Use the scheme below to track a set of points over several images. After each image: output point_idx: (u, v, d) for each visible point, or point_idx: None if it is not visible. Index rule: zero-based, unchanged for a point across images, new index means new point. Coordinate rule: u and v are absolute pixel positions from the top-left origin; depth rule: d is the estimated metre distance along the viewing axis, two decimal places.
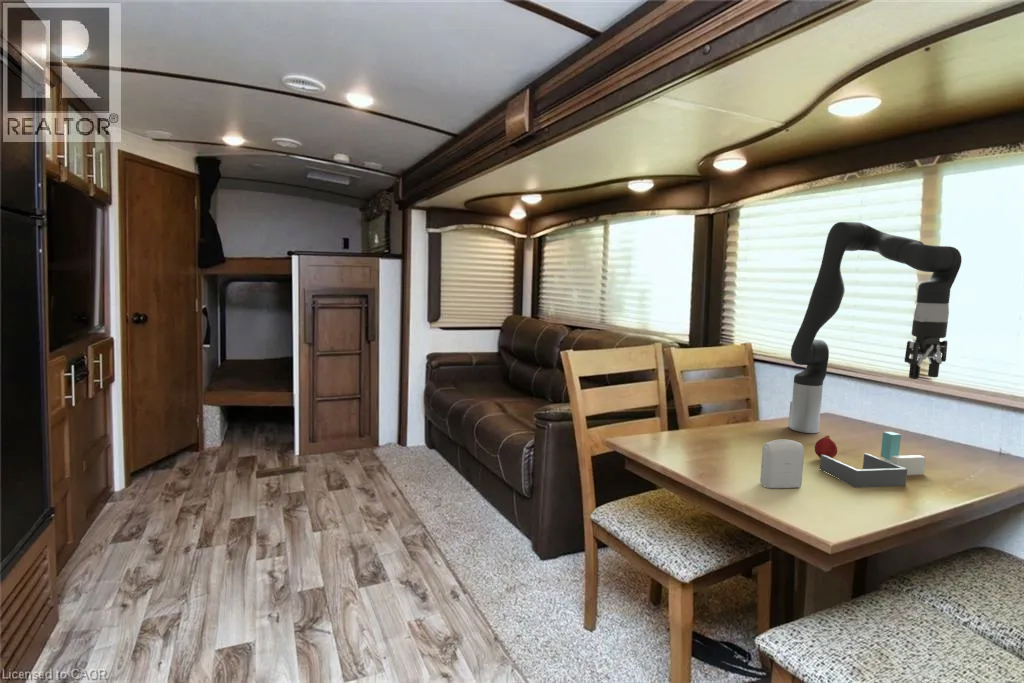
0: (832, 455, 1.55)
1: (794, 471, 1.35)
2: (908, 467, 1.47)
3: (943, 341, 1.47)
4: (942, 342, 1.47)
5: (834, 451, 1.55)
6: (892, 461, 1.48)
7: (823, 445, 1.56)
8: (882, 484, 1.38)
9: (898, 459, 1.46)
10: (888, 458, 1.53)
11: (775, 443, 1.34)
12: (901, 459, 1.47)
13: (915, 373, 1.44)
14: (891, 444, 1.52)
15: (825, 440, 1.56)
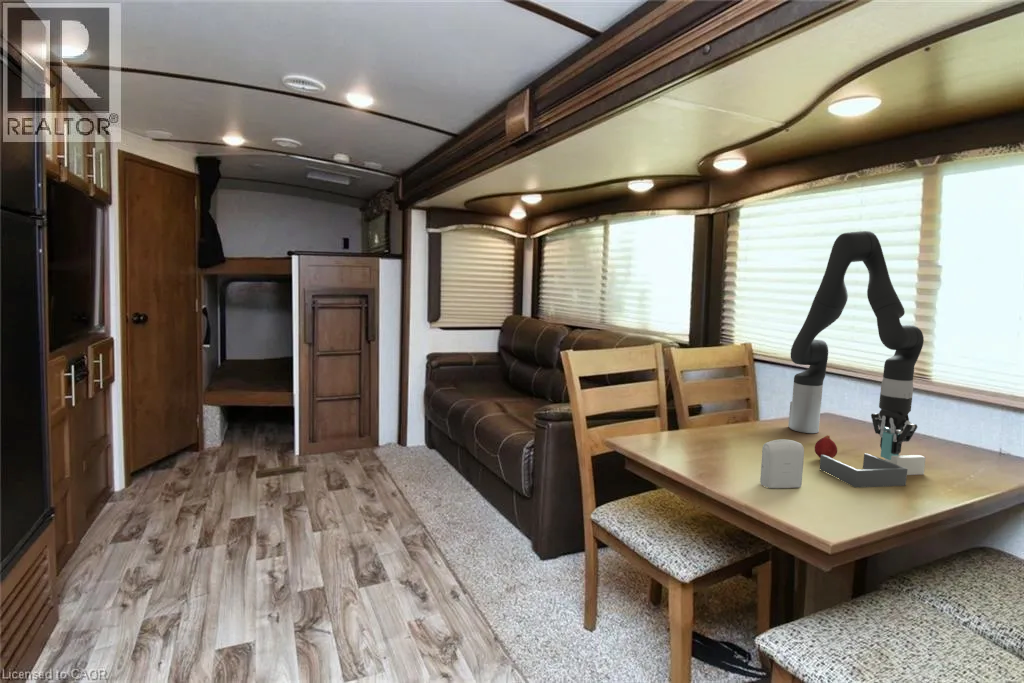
0: (832, 455, 1.55)
1: (794, 471, 1.35)
2: (908, 466, 1.47)
3: None
4: None
5: (834, 451, 1.55)
6: (892, 461, 1.48)
7: (823, 445, 1.56)
8: (882, 484, 1.38)
9: (898, 459, 1.46)
10: (888, 458, 1.53)
11: (775, 443, 1.34)
12: (901, 459, 1.47)
13: None
14: (891, 444, 1.52)
15: (825, 440, 1.56)
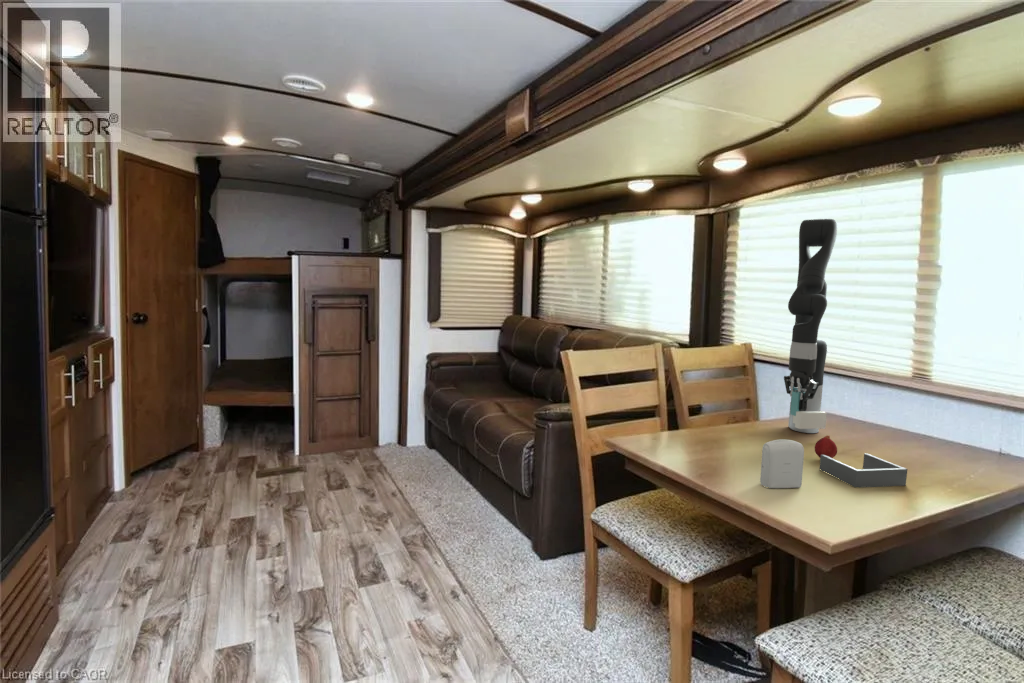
0: (832, 455, 1.55)
1: (794, 471, 1.35)
2: (810, 421, 1.62)
3: None
4: None
5: (834, 451, 1.55)
6: (796, 416, 1.63)
7: (823, 445, 1.56)
8: (882, 484, 1.38)
9: (801, 414, 1.62)
10: (795, 415, 1.68)
11: (775, 443, 1.34)
12: (804, 414, 1.62)
13: None
14: (798, 402, 1.67)
15: (825, 440, 1.56)
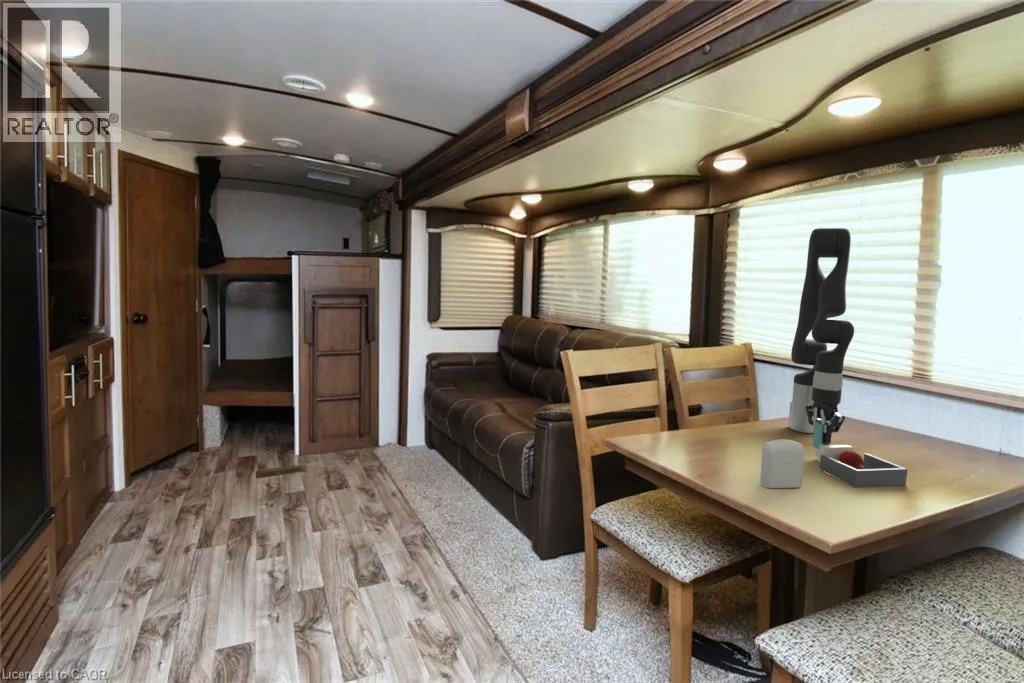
0: None
1: (794, 471, 1.35)
2: (835, 456, 1.52)
3: None
4: None
5: None
6: (820, 450, 1.53)
7: None
8: (882, 484, 1.38)
9: (825, 448, 1.51)
10: (818, 448, 1.58)
11: (775, 443, 1.34)
12: (828, 448, 1.52)
13: None
14: (821, 434, 1.57)
15: (854, 467, 1.46)
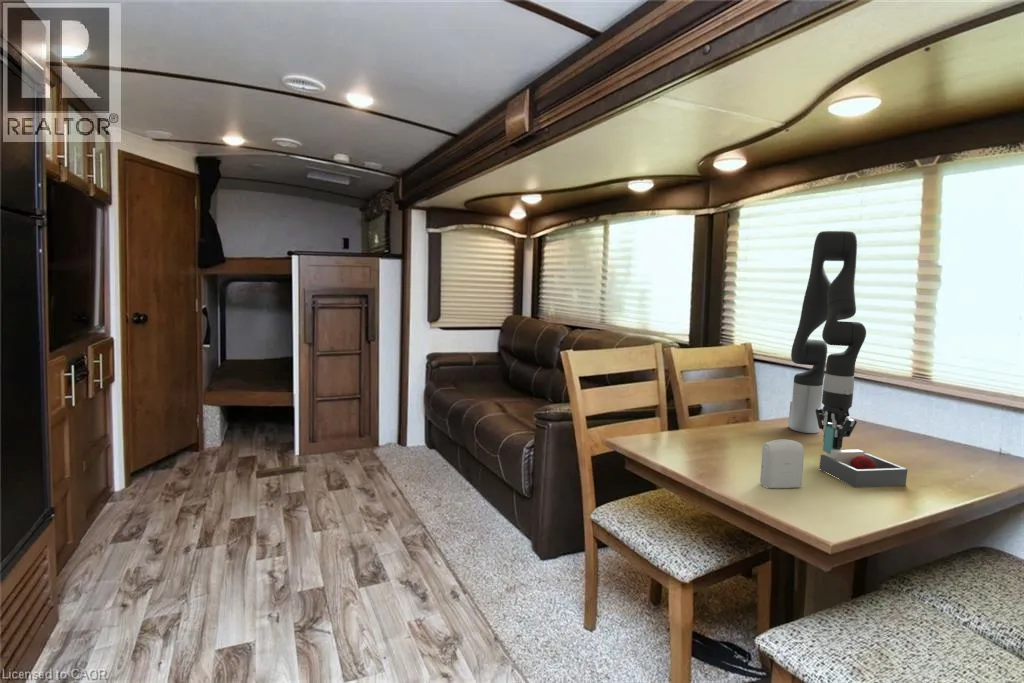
0: None
1: (794, 471, 1.35)
2: (846, 461, 1.48)
3: None
4: None
5: None
6: (831, 455, 1.49)
7: None
8: (882, 484, 1.38)
9: (837, 453, 1.47)
10: (829, 452, 1.54)
11: (775, 443, 1.34)
12: (840, 453, 1.48)
13: None
14: (832, 439, 1.53)
15: None
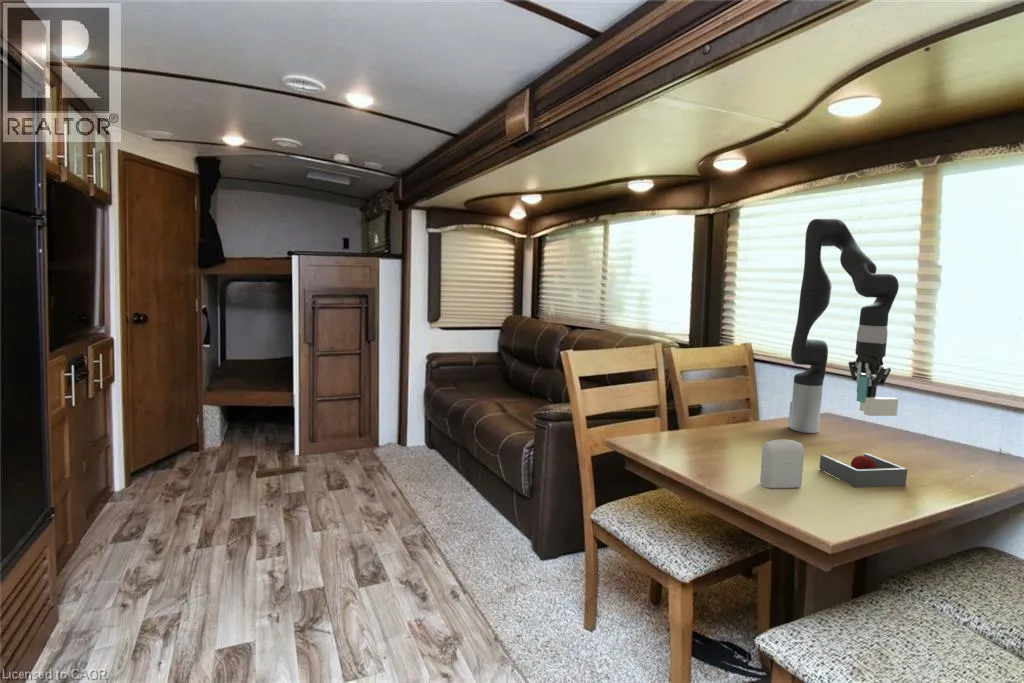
0: None
1: (794, 471, 1.35)
2: (881, 407, 1.53)
3: None
4: None
5: None
6: (866, 402, 1.54)
7: None
8: (882, 484, 1.38)
9: (872, 400, 1.52)
10: (863, 401, 1.59)
11: (775, 443, 1.34)
12: (875, 400, 1.52)
13: None
14: (866, 388, 1.58)
15: None
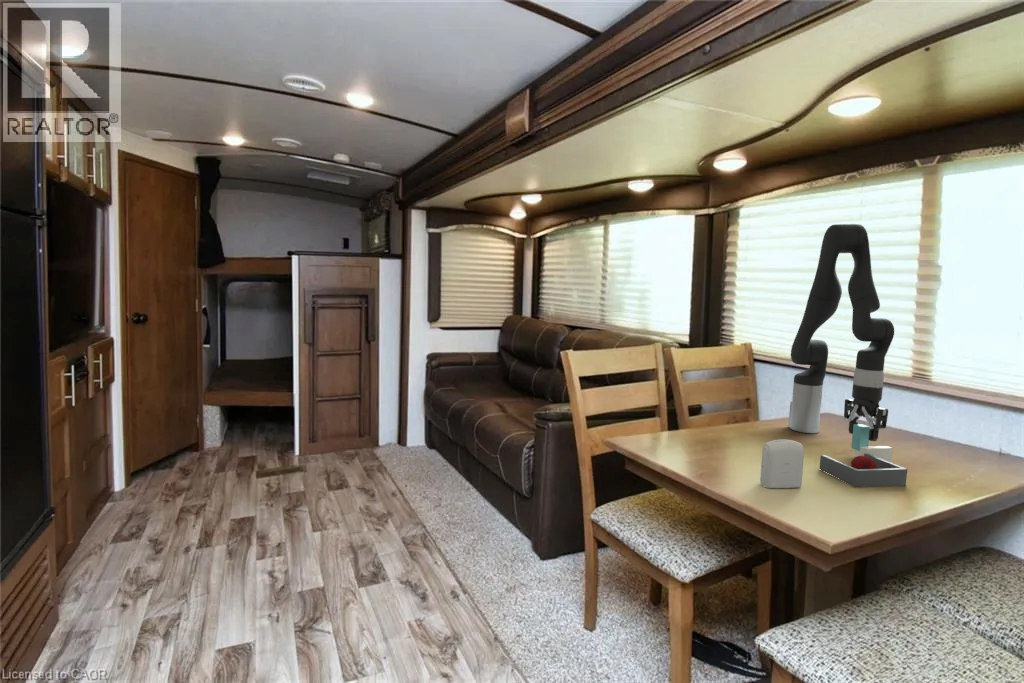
0: None
1: (794, 471, 1.35)
2: None
3: (852, 400, 1.66)
4: None
5: None
6: (861, 452, 1.56)
7: None
8: (882, 484, 1.38)
9: (866, 450, 1.54)
10: (858, 449, 1.61)
11: (775, 443, 1.34)
12: (869, 450, 1.55)
13: None
14: (860, 436, 1.60)
15: None
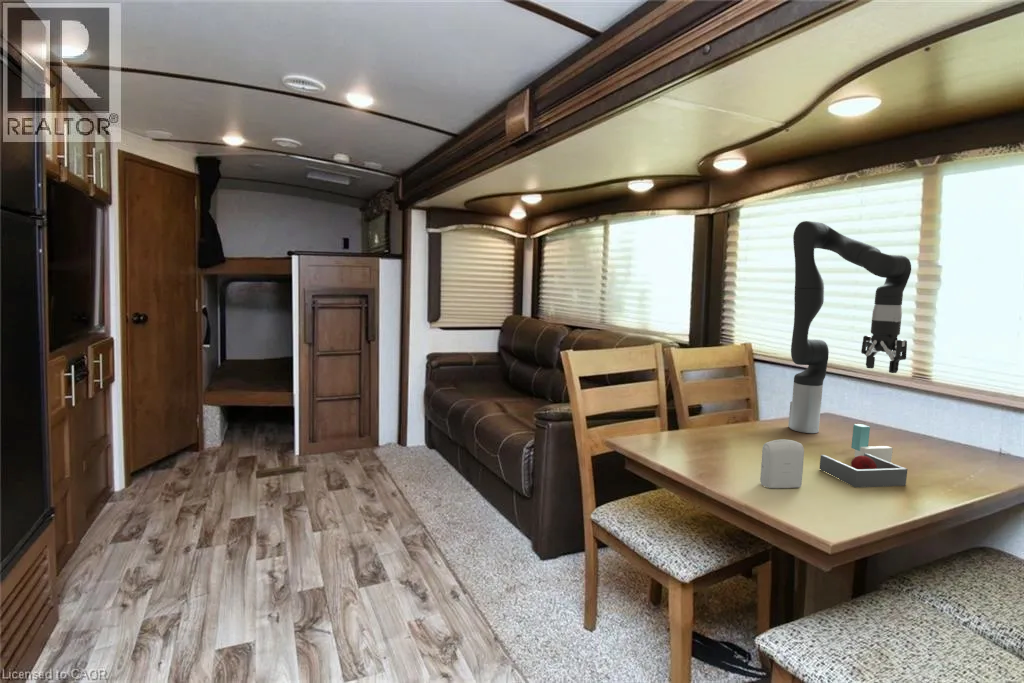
0: None
1: (794, 471, 1.35)
2: None
3: (871, 336, 1.71)
4: None
5: None
6: (861, 452, 1.56)
7: None
8: (882, 484, 1.38)
9: (866, 450, 1.54)
10: (858, 449, 1.61)
11: (775, 443, 1.34)
12: (869, 450, 1.55)
13: None
14: (860, 436, 1.60)
15: None
